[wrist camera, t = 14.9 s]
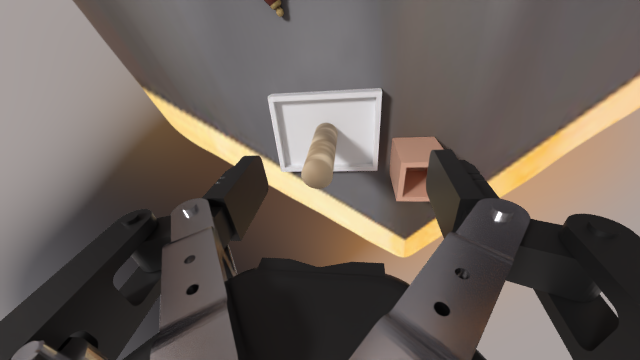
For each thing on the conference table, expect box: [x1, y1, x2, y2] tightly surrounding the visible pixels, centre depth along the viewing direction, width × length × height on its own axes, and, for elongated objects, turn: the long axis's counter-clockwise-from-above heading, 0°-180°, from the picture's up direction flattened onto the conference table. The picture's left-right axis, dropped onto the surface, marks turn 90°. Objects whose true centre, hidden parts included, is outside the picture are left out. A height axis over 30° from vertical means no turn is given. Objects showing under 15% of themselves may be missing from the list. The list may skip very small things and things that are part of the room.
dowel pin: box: [301, 123, 338, 189], centre depth 36 cm, size 4×4×14 cm
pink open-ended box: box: [389, 137, 443, 201], centre depth 40 cm, size 7×7×9 cm
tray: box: [268, 88, 382, 172], centre depth 42 cm, size 18×14×2 cm
